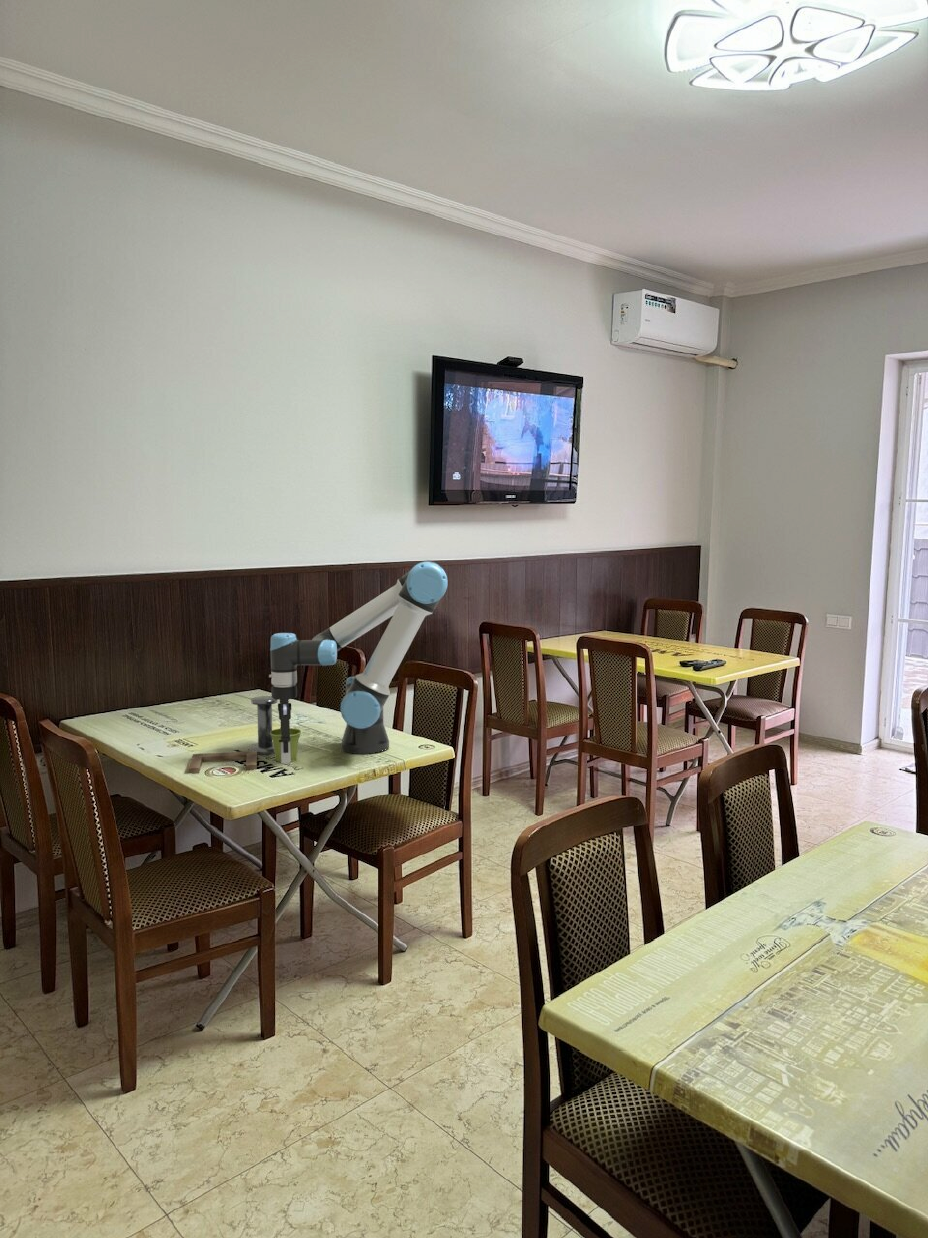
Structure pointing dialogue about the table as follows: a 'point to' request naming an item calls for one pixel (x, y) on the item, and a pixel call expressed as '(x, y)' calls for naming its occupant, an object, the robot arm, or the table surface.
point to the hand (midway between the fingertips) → (285, 758)
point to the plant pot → (293, 742)
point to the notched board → (223, 759)
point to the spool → (264, 725)
